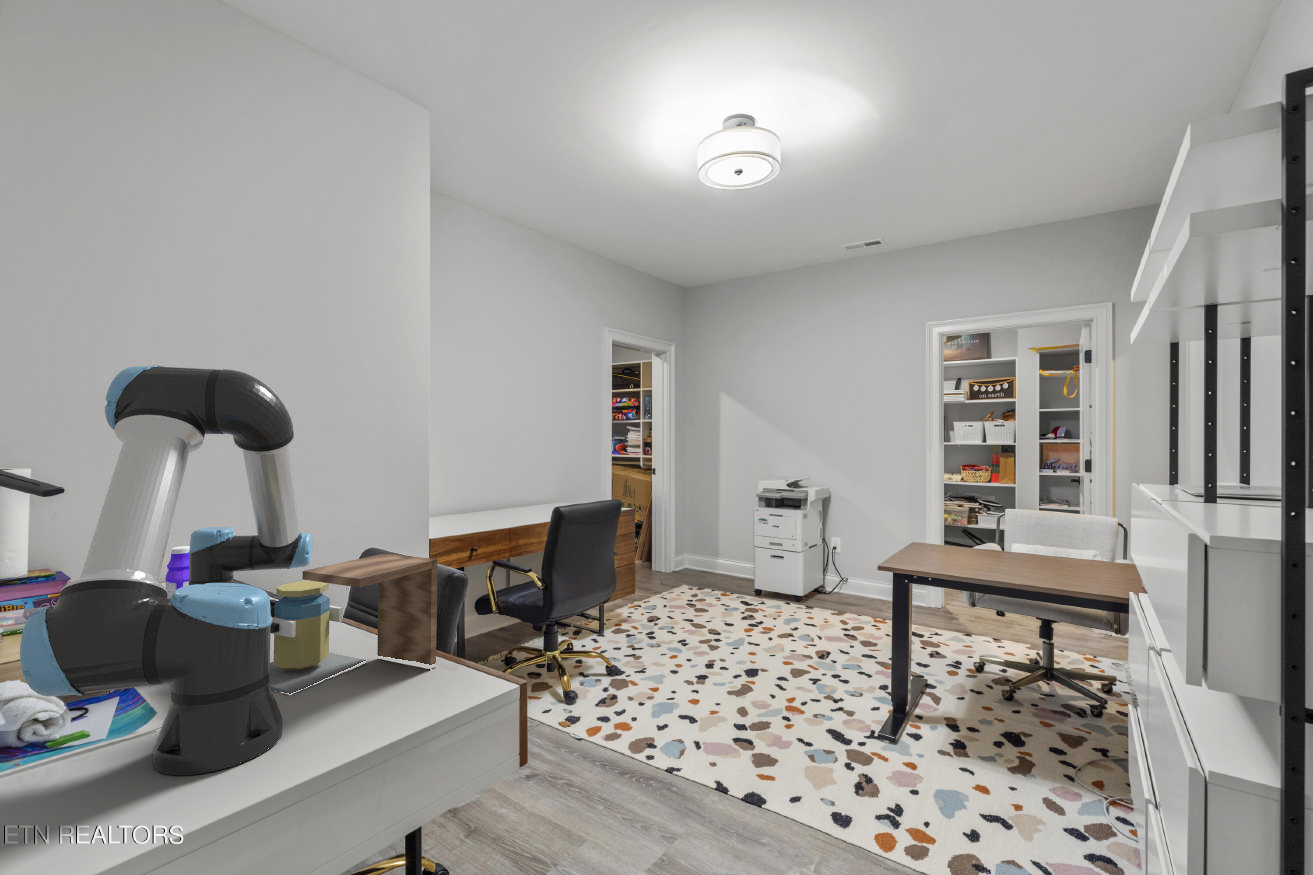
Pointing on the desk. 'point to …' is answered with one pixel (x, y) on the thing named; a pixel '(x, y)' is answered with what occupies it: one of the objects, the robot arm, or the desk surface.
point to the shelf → (395, 600)
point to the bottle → (177, 569)
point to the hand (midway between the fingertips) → (318, 621)
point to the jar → (302, 625)
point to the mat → (309, 673)
